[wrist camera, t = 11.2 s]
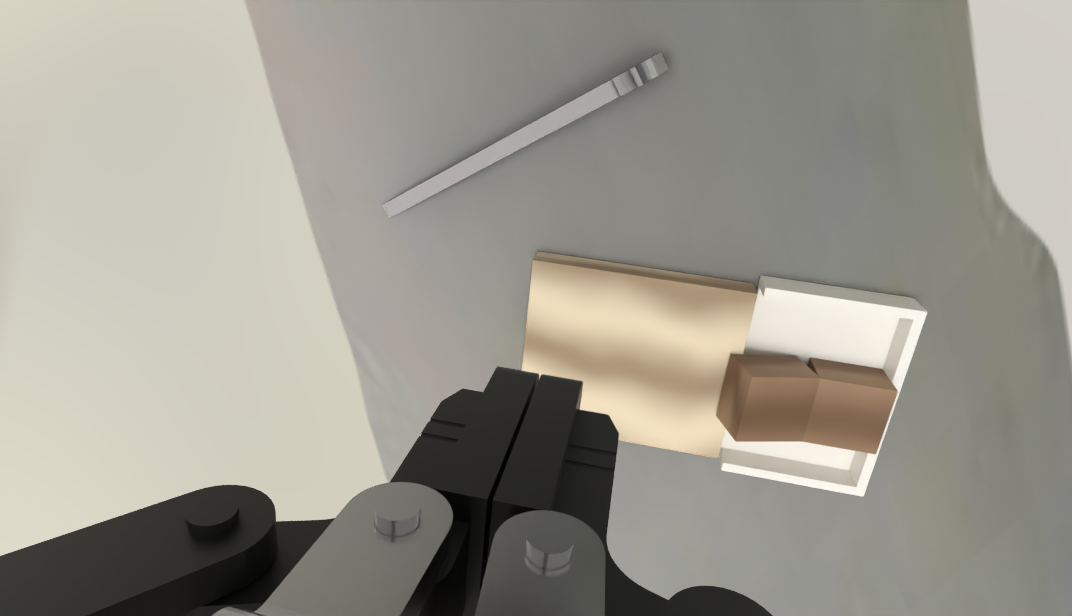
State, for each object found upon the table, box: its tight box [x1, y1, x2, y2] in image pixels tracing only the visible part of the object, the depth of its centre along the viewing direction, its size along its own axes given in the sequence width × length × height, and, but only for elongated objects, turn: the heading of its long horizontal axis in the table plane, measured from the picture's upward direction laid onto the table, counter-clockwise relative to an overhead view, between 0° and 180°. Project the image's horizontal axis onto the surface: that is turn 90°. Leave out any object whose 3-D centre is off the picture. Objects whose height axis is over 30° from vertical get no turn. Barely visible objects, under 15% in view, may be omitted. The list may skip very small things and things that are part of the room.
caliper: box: [382, 52, 668, 218], centre depth 39 cm, size 20×1×6 cm, turn 118°
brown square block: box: [716, 354, 821, 442], centre depth 42 cm, size 4×4×3 cm
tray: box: [719, 275, 927, 496], centre depth 43 cm, size 13×9×2 cm
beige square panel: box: [522, 251, 757, 458], centre depth 45 cm, size 12×14×2 cm
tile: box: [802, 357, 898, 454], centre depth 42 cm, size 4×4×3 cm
